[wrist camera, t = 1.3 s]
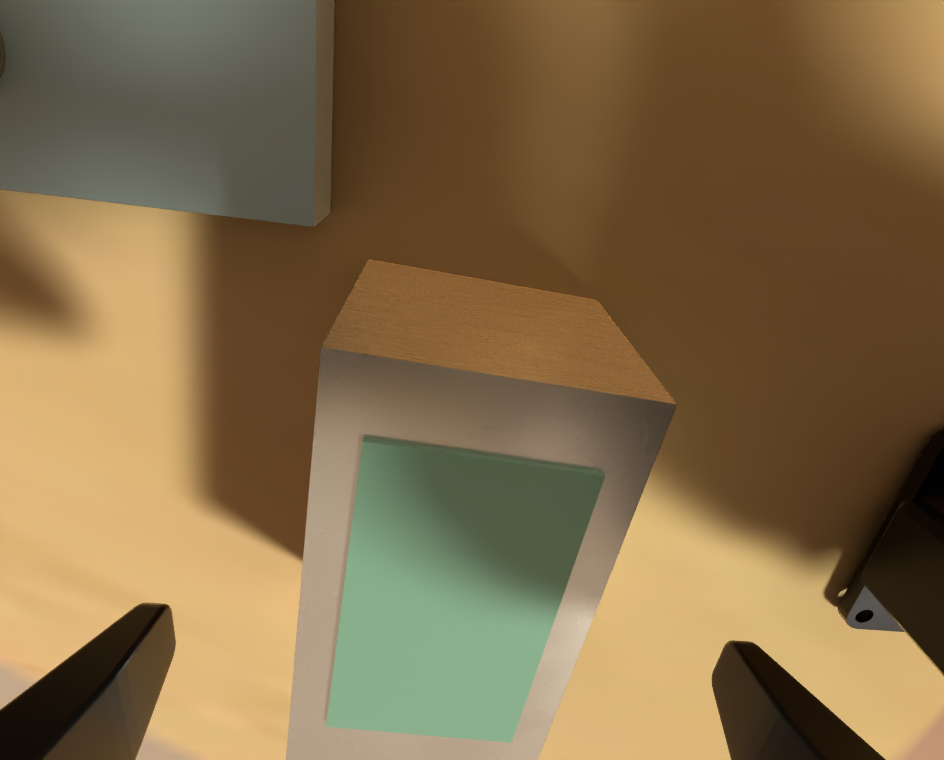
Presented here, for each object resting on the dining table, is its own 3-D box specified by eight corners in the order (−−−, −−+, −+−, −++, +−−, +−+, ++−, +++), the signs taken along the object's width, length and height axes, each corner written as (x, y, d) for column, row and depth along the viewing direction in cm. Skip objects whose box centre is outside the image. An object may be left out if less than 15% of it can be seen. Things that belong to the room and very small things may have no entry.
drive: (595, 297, 13) (679, 407, 8) (508, 594, 16) (530, 783, 12) (369, 257, 12) (319, 350, 7) (333, 573, 16) (284, 765, 11)
